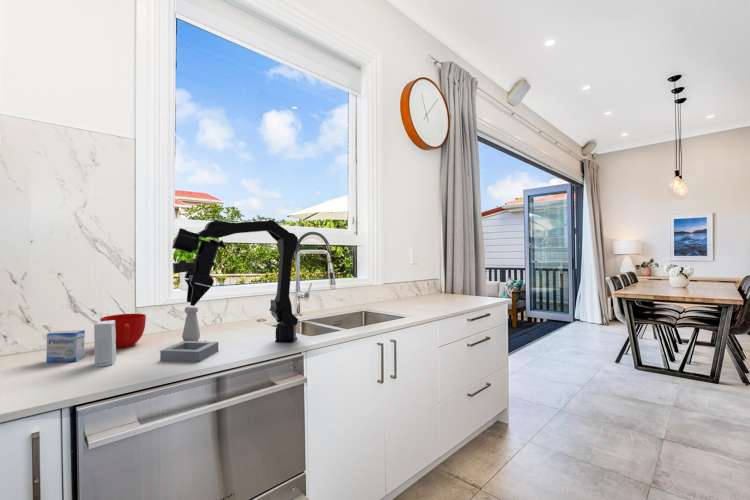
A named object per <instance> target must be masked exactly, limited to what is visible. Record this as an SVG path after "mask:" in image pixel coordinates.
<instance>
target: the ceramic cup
mask: <svg viewBox="0 0 750 500" xmlns="http://www.w3.org/2000/svg"><path fill="white" fill-rule="evenodd" d="M146 319H147V315H146V314H143V313H119V314H112V315H111V314H110V315H107V316H103V317H101V318H100V321H110V320H115V330H116V349H125V348H130V347H134V346H135V345H136V344H137V343H138V341H140V340H141V338H142V336H143V335H144V332H145V328H146Z"/></svg>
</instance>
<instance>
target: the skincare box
mask: <svg viewBox="0 0 750 500" xmlns="http://www.w3.org/2000/svg"><path fill="white" fill-rule="evenodd" d="M93 327H94V328H93V330H94V331H93V332H94V333H93V334H94V335H93V336H94V337H93V338H94V340H93V341H94V367H95V368H99V367H108V366H109V367H111V366H112V365H114V364H115V362H116V361H117V348H116V330H115V320H110V321H101V320H99V321H98V322H96V323H95V324H94V325H93Z"/></svg>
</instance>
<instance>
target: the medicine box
mask: <svg viewBox="0 0 750 500" xmlns="http://www.w3.org/2000/svg"><path fill="white" fill-rule="evenodd" d="M85 337H86V330H84V329H83V330H82V329H79V330H77V329H76V330H56V331H51V332H48V333H47V334H46V352H45V353H46V357H45V358H46V363H47V364H53V363H55V364H57V363H73V362H75V363H76V362H78V361H81V360H83V359H84V358H85V345H86V344H85V343H86V342H85V341H86V340H85Z"/></svg>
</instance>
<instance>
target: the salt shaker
mask: <svg viewBox="0 0 750 500" xmlns="http://www.w3.org/2000/svg"><path fill="white" fill-rule="evenodd" d="M184 313H185V314H186V316H185V320H184V321H185V322H184V326H183V331H182V335H181V337H182V339H183V340H182V341H199V339H200V338H201V330H200V326H199V320H198V316H197V315H198V314H197V313H199V307H198V306H197V305H195V306H191V305H187V306H185V308H184Z"/></svg>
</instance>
